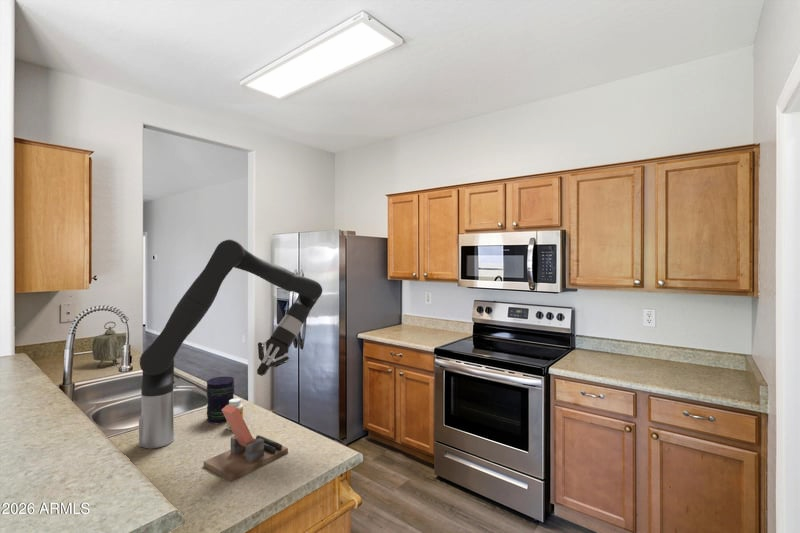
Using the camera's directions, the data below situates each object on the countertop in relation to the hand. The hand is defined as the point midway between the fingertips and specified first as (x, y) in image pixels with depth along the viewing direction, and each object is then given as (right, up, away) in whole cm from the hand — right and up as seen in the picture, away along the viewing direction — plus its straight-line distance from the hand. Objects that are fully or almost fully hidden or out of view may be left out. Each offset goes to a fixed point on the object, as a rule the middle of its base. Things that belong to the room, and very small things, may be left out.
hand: (259, 374), depth 136 cm
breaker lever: (0, -18, -12) cm, 22 cm away
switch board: (0, -23, -12) cm, 26 cm away
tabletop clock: (-117, -20, +93) cm, 151 cm away
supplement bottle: (-13, -23, +11) cm, 28 cm away
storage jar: (-22, -22, +19) cm, 37 cm away
